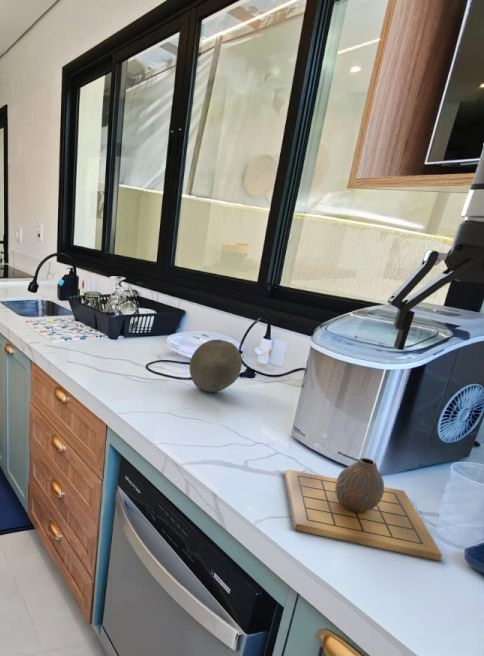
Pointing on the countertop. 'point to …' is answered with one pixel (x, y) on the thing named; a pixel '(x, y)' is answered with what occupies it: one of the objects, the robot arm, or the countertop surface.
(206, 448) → the countertop surface
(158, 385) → the countertop surface
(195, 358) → the cantaloupe
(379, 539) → the board
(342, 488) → the vase
